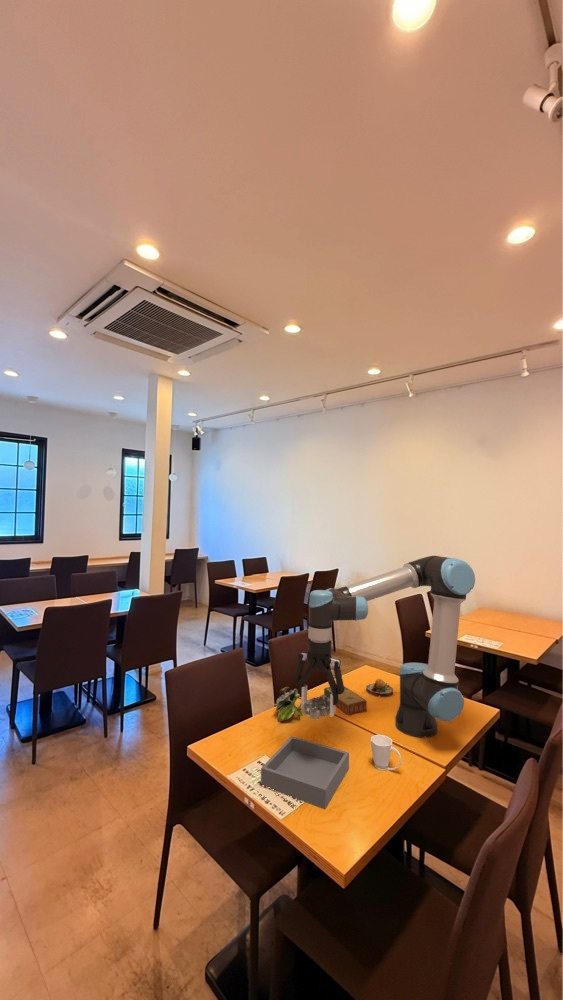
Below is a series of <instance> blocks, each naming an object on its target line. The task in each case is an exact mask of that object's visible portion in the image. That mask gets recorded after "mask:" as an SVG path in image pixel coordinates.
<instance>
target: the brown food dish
mask: <svg viewBox="0 0 563 1000" xmlns="http://www.w3.org/2000/svg"><path fill="white" fill-rule="evenodd" d="M365 691H366V692H367V694H369V695H373V696H374V697H380V698H388V697H392V696H393V695H394V689H393V687H392V686H391V685H390V684H388V682H385V681H384V679H381V678H377V679H376V680H375V681H374V682H373V683H369V684H367V685H366V690H365Z"/></svg>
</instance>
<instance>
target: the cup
mask: <svg viewBox="0 0 563 1000" xmlns="http://www.w3.org/2000/svg"><path fill="white" fill-rule="evenodd" d="M370 745H371V753H372V754H371V755H372V759H373V763H374V768H376V769H377V770H378V771H386V770H387V771H394V770H396V769H398V768H399V767H401V765H402V756H401V753H400V752H399V750H398V749H397V748H395V747H394V746H393V739H392V738H390V737H388V736H387V735H384V734H375V735H372V736H371V737H370ZM392 751H394V752H396V754H397V756H398V759H399V763H398V765H397V766H395V767H389V764H390V760H391V752H392Z"/></svg>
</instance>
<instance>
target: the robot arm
mask: <svg viewBox="0 0 563 1000" xmlns="http://www.w3.org/2000/svg"><path fill="white" fill-rule="evenodd" d="M475 576H476V575H475V572H474V569H473V568H472V567H471V565H470V564H469V563H468V562H466V561H464V560H463V559H462V560H461V559H459V558H455V557H445V556H440V555H429V556H425V557H421V558H418V559H416V560H413V561H409V562H407V563H404V564H403V566H402V567H401V568H400V567H399V568H397V569H394V570H390V571H388V572H385V573H381V574H378V575H376V576H372V577H370V578H366V579H363V580H361V581H358V582H355V583H351V584H349V585H346V586H341V587H338V588H332V587H330V588H327V589H325V590H324V589H316V590H315V589H314V590H312V591H311V592H310V593H309V597H308V598H309V600H308V634H307V635H308V636H307V637H308V640H307V653H305V652H301V653H300V654H298V664H297V668H296V672H295V675H294V680H293V683H294V684H297V685H298V687H299V689H298V694H299V695H300V696H302V697H300V698H301V699H300V700H301V701H300V704H302V702H303V701H304V700H308V685H307V684H306V683H307V681H308V679H309V677H310V675H311V674H312V672H313V670H319V671H322V672H323V674H324V676H325V678H326V681H327V683H328V685H329V686H328V687H330V688H331V691H332V694H331V695H330V713H329V717H332V718H333V717H334V715H335V714H336V707H335V705H337V704H338V694H342V693H343V692H344V686H345V685H344V681H343V680H344V679H343V675H342V670H341V663H342V661H341V660H340V659H335V658H333V656H332V632H333V631H332V629H333V622H334V621H336V622H337V621H362V620H365V619H366V618H367V617H368V614H369V605H368V602H369V601H373V600H375V599H378V598H381V597H384V596H386V595H390V594H393V593H395V592H399V591H402V590H405V589H408V588H410V587H411V588H412V589H417V588H419V587H420V588H421V587H430V595H431V597H433V601H434V602H433V610H432V620H431V621H432V622H431V632H430V644H429V651H428V652H429V653H428V661H427V662H428V663H423V662H405V663H403V664H401V666H400V668H399V705H398V709H397V711H396V714H395V717H394V718H395V719H394V720H395V723H394V724H395V725H394V726H395V727H396V728H397V729H398V730H399V731H400V732H402V733H403V734H405V735H408V736H412V737H416V738H431V737H434V736H435V735H437V734H438V730H439V729H438V728H439V727H438V721H440V722H444V723H445V722H451V721H454V720H456V718H457V717H459V716H460V715H461V714H462V712H463V710H464V707H465V697H464V695H462V692H461V691H460V690H459V678H458V677H457V676H456V674H455V668H456V657H457V647H458V636H459V635H458V634H459V626H460V612H461V605H462V603H464V602H465V601H466V600H467V594H469V593H471V590H473V589H474V587H475V584H476V583H475V582H476V577H475ZM306 660H308V662H309V664H308V666H307V668H306V671H305V672H304V674H303V671H304V667H305V664H306ZM330 664H331V666H332V667H333V673H334V675H333V673H332V668H331V666H330ZM302 675H303V676H302ZM303 707H304V706H303V705H301V709H303ZM437 720H438V721H437Z"/></svg>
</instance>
